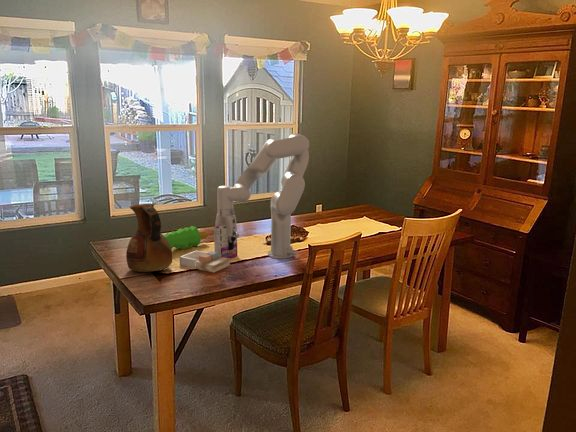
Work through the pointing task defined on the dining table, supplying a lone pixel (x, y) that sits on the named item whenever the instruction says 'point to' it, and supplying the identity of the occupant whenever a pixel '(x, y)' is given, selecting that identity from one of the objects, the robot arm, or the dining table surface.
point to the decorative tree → (185, 237)
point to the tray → (191, 258)
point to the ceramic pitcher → (148, 242)
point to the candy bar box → (223, 243)
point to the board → (213, 264)
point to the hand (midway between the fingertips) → (225, 248)
